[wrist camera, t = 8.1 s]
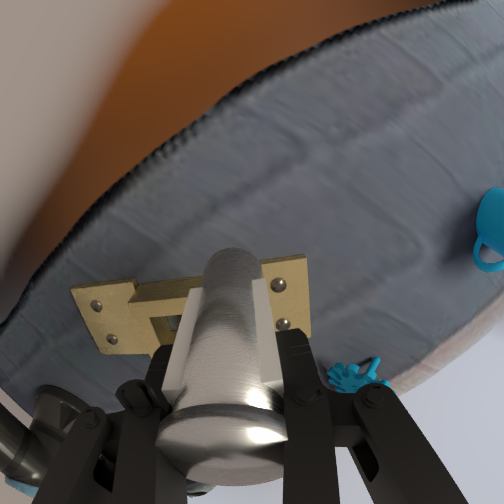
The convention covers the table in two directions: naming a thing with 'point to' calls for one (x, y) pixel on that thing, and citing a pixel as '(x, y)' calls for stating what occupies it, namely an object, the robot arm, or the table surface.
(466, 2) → the table surface
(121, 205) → the table surface
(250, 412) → the hinge pin
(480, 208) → the mug
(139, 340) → the hinge leaves
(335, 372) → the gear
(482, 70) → the table surface
